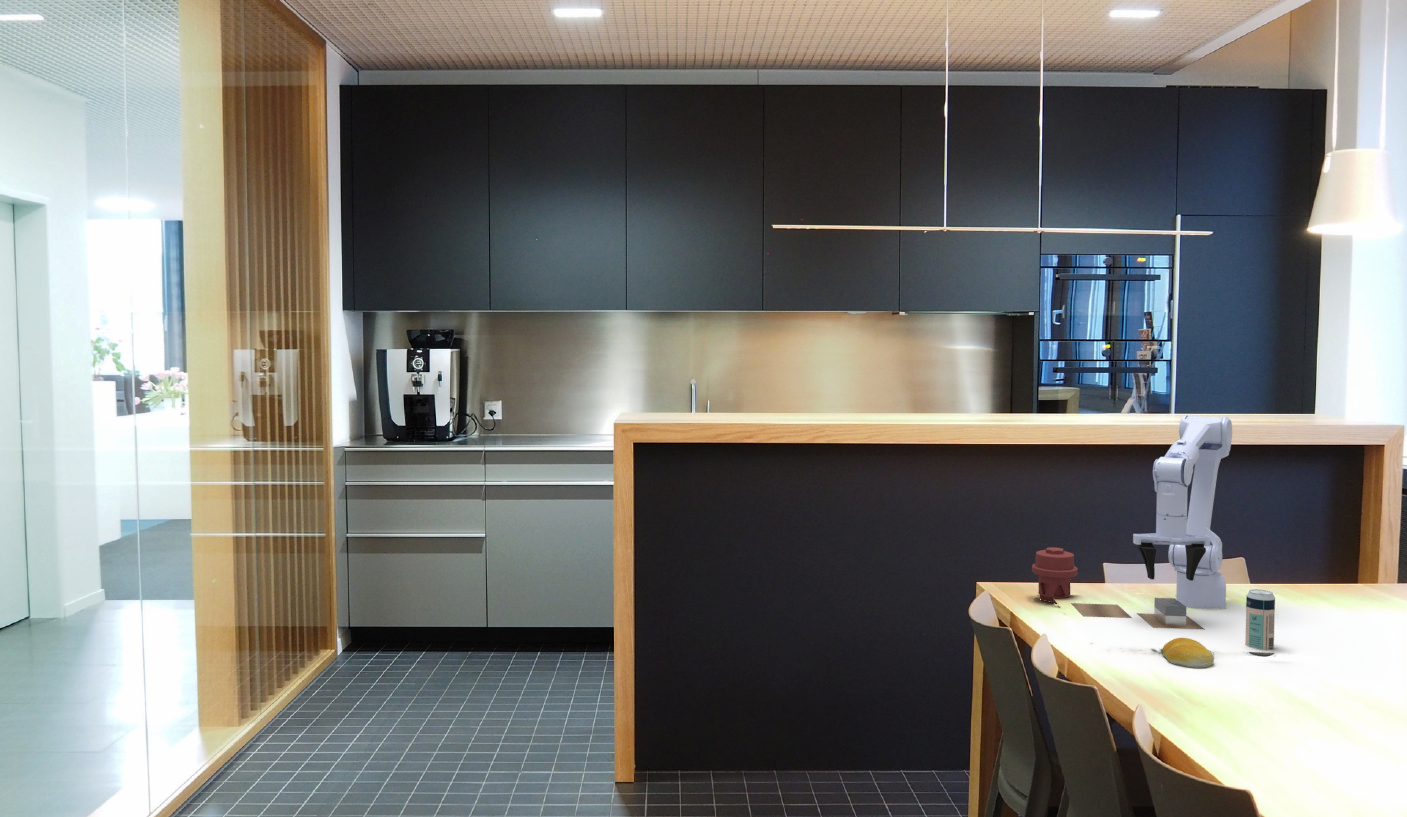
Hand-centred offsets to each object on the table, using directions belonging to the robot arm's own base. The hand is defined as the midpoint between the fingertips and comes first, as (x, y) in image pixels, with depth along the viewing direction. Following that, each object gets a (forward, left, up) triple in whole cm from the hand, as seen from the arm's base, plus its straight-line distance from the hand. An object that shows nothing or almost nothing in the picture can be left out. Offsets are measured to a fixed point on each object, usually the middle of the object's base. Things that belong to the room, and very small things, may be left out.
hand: (1170, 578), depth 196 cm
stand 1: (+12, -7, -10) cm, 17 cm away
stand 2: (0, 0, -10) cm, 10 cm away
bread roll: (+4, +22, -11) cm, 25 cm away
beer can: (-11, +16, -11) cm, 22 cm away
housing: (0, 0, -9) cm, 9 cm away
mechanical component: (+19, -20, -11) cm, 29 cm away
